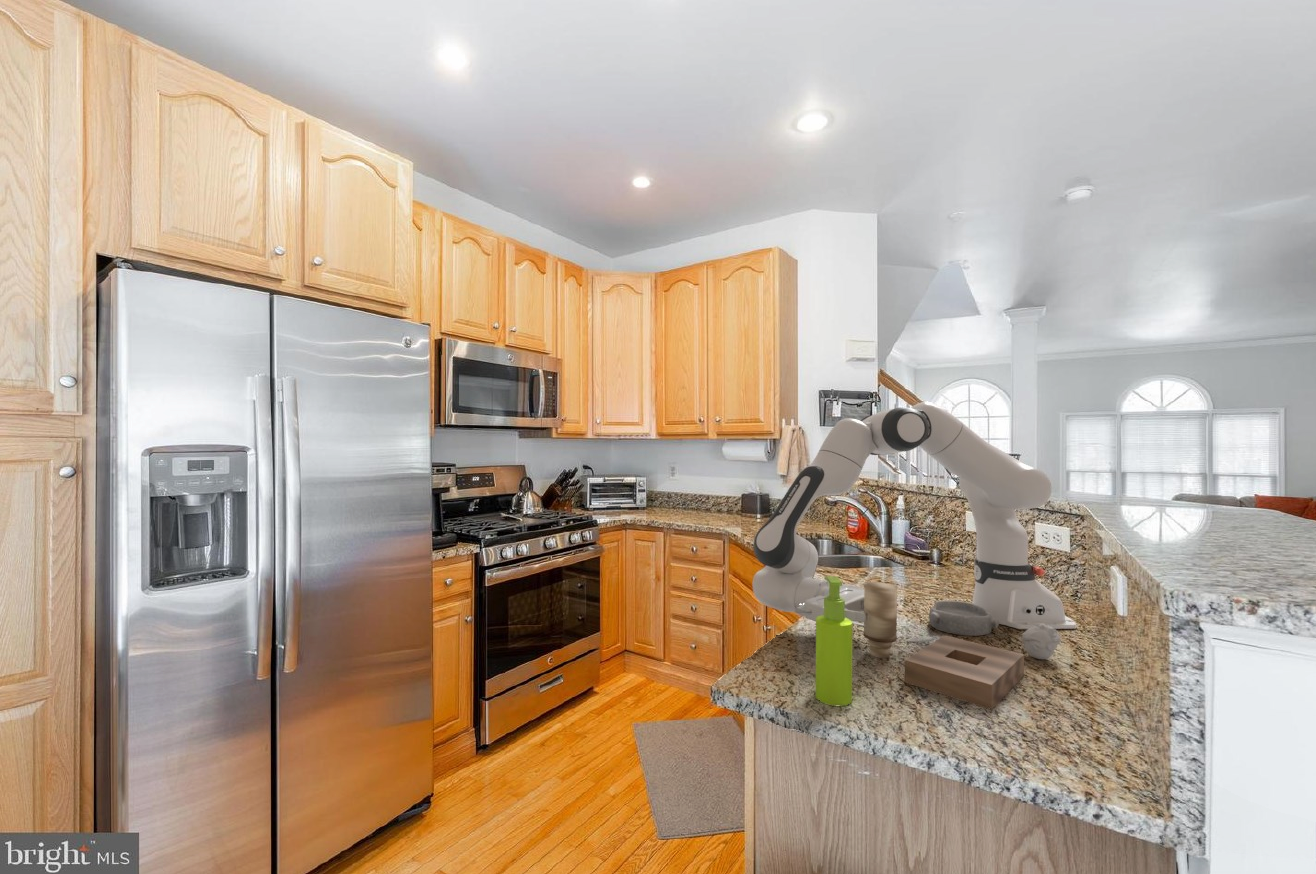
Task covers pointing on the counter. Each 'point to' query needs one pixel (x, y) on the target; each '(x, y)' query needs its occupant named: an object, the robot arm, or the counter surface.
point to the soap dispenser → (834, 649)
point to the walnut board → (965, 670)
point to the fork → (900, 635)
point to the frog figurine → (1041, 641)
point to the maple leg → (880, 617)
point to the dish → (961, 618)
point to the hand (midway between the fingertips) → (876, 613)
